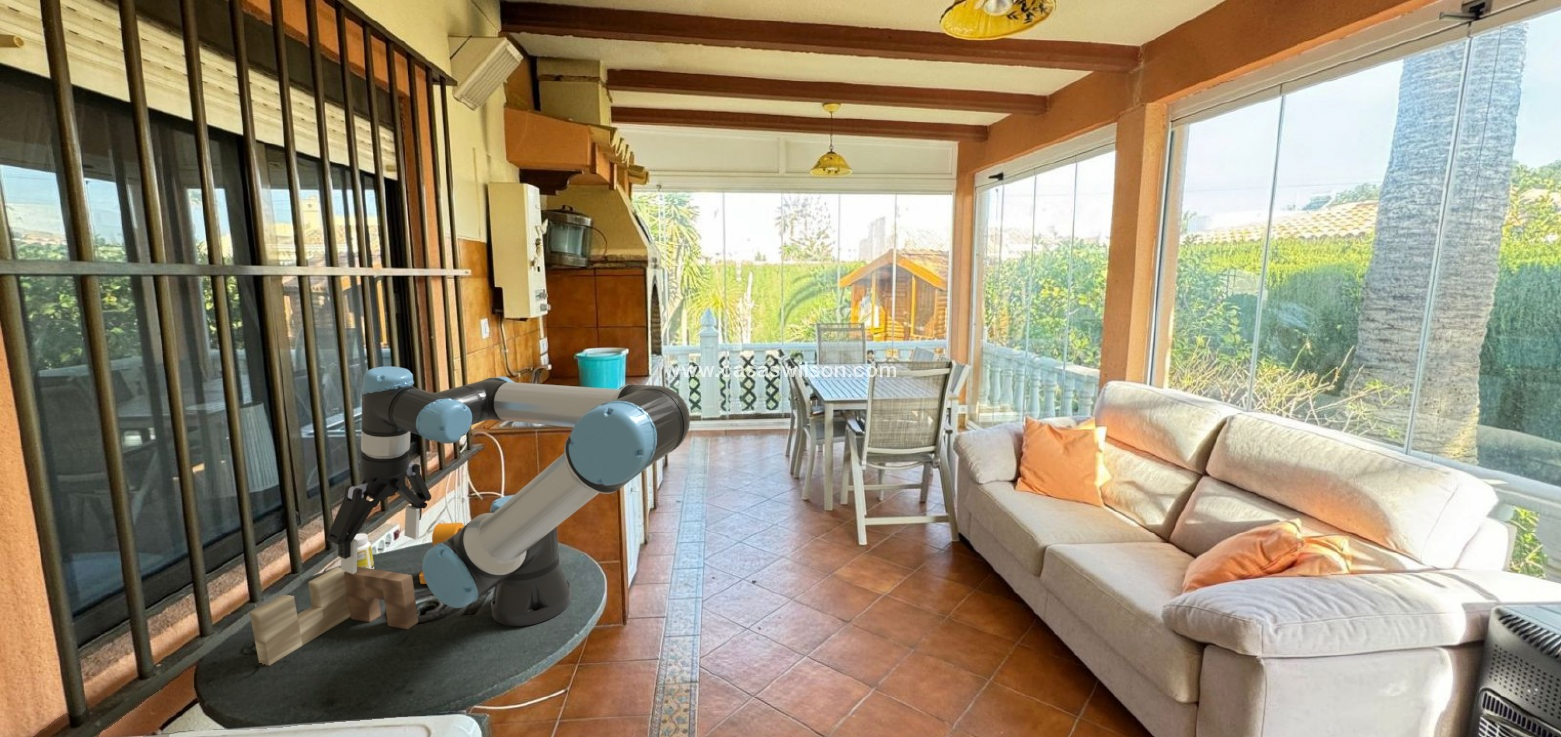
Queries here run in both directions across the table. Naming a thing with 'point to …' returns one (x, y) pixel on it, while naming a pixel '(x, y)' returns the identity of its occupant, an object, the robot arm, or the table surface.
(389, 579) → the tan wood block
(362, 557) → the supplement bottle
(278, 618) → the interlocking wood puzzle
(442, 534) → the bracket
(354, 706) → the table surface
